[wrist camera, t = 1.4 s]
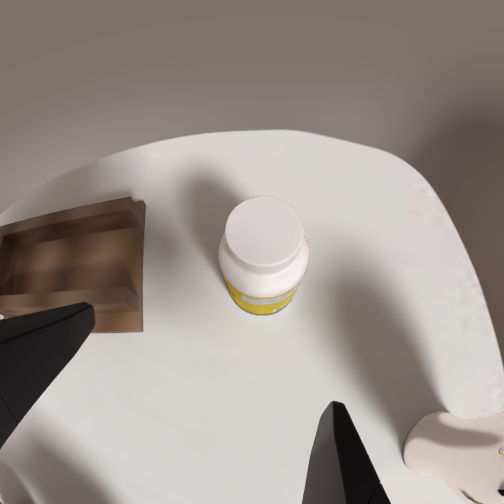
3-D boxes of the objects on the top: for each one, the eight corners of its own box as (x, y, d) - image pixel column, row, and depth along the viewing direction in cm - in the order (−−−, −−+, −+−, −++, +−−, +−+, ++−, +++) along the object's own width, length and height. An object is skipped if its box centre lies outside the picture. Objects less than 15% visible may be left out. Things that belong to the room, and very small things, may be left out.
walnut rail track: (7, 331, 21) (-16, 323, 18) (21, 229, 26) (2, 214, 22) (143, 331, 22) (124, 323, 18) (145, 205, 27) (132, 182, 23)
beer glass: (383, 457, 17) (506, 515, 4) (431, 392, 19) (571, 382, 5) (426, 486, 15) (537, 532, 2) (469, 426, 17) (591, 429, 4)
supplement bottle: (231, 251, 25) (218, 180, 16) (295, 255, 24) (318, 187, 15) (224, 314, 23) (204, 275, 14) (293, 319, 22) (320, 283, 13)
